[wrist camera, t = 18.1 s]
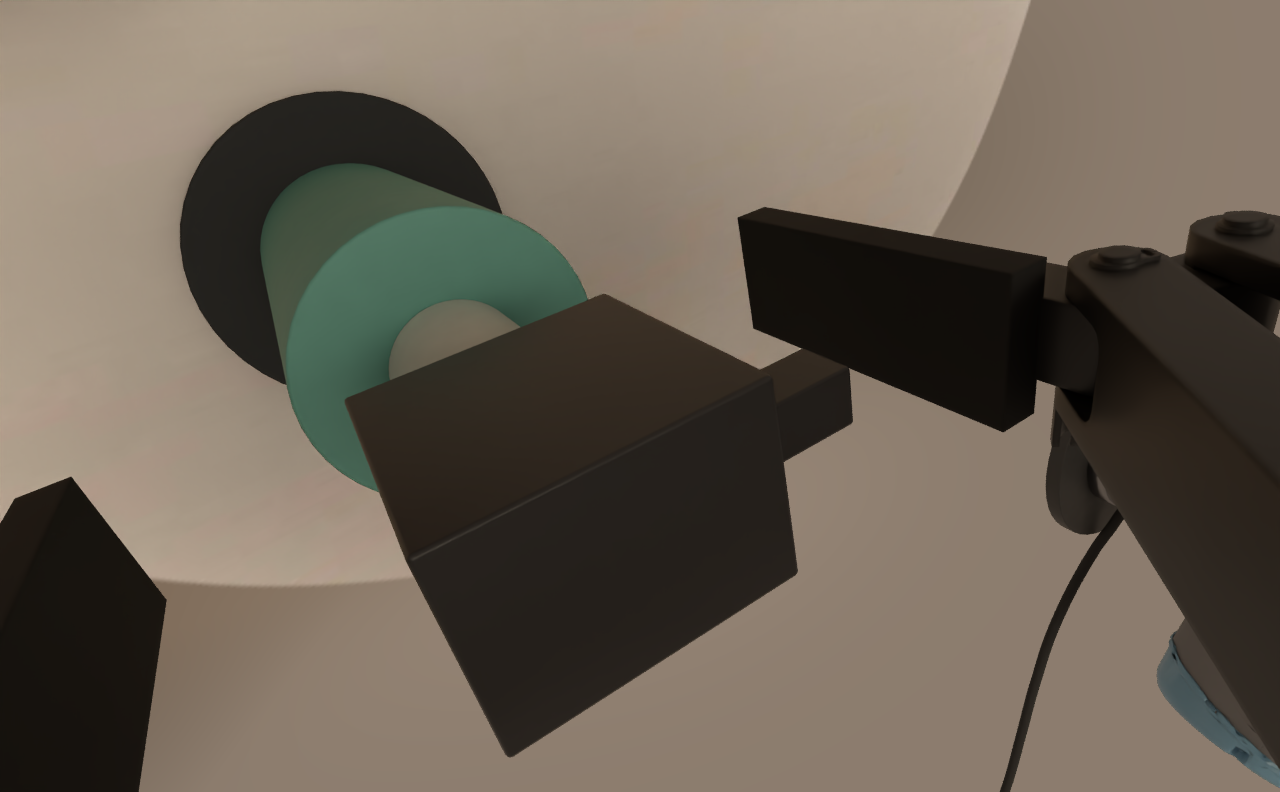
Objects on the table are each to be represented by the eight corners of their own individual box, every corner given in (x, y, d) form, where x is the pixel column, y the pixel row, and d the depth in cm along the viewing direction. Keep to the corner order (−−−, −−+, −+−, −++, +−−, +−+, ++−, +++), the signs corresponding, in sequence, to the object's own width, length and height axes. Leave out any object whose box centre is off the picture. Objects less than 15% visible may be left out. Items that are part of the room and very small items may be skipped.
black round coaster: (535, 332, 30) (540, 335, 29) (276, 438, 26) (277, 445, 25) (449, 57, 24) (453, 56, 24) (106, 141, 20) (103, 142, 20)
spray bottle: (310, 367, 25) (474, 887, 8) (222, 195, 22) (198, 470, 5) (495, 296, 28) (905, 584, 11) (440, 133, 24) (896, 183, 8)
